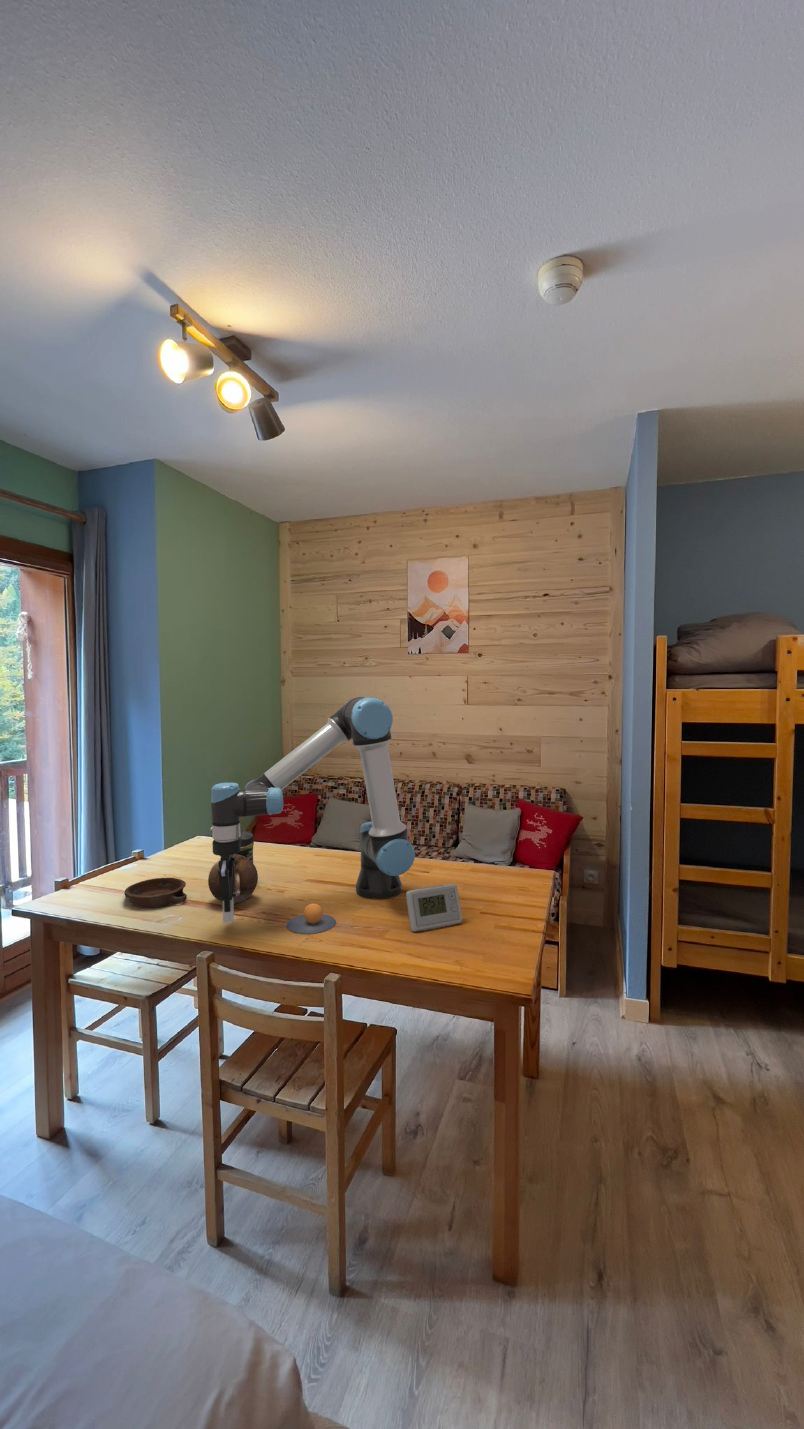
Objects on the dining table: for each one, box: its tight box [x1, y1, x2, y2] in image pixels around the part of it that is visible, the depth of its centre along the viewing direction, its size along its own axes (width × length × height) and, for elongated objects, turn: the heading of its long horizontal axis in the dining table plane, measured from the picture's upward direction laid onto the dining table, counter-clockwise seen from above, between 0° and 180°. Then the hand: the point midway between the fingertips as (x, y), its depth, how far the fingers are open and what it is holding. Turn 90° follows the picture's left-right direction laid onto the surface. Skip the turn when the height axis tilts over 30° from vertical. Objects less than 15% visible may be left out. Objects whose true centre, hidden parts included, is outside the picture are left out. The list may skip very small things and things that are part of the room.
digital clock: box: [405, 883, 463, 932], centre depth 168 cm, size 16×9×11 cm, turn 101°
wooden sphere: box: [207, 854, 259, 905], centre depth 187 cm, size 15×15×15 cm
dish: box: [124, 877, 188, 909], centre depth 189 cm, size 18×22×5 cm
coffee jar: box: [236, 830, 255, 864], centre depth 200 cm, size 10×8×19 cm
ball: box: [303, 903, 324, 924], centre depth 170 cm, size 6×6×6 cm
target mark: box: [285, 913, 337, 935], centre depth 170 cm, size 14×14×1 cm
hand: (228, 921), depth 167 cm, fingers closed
